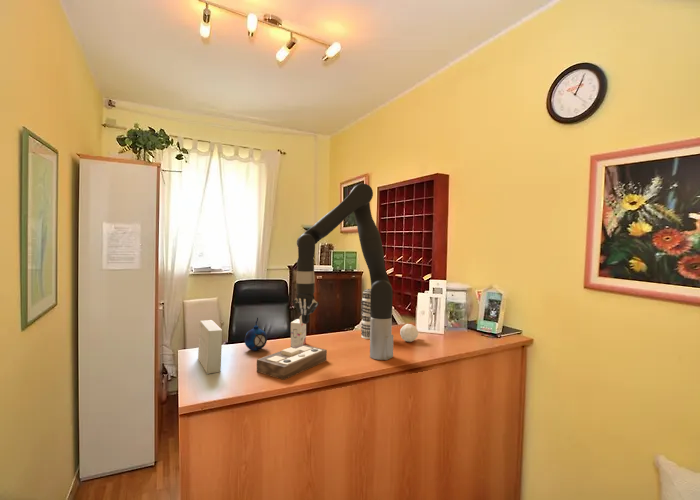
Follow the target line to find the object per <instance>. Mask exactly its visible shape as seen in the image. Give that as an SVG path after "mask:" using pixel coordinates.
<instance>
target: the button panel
mask: <svg viewBox="0 0 700 500" xmlns="http://www.w3.org/2000/svg"><path fill="white" fill-rule="evenodd" d="M302 346H306V347H310V348H312V349H313V348H316V349H320V350H323V351H321V352H318V353H316V354H313V355H311V356H308V357H306V358H303V359H301V360H299V361H296V362H294V363H291V364H289V365H284V364H280V363H278V362H277V363H275V362H271V361H268V360H266V359H268V358H271V357H274V356H280V357H283V358H286V359H287V358H290V357H289V356H285V355H282V350H280V351H277V352H275V353H272V354H268V355H266V356H263V357H261V358H258V359H256V372H257V373H261V374H264V375H267V376H270V377H273V378H277V379H280V380H283V381H285V380H286V379H289V378H291V377H293V376H295V375H298V374H300V373H302V372H305V371H306V370H309V369H311V368H313V367H315V366H318V365H320V364H323V363H324V362H326V361H328V360H327V357H328V355H327V354H328V353H327V350H328V349H325V348H320V347H317V346H310V345H307V344H304V345H303V344H300V345H297V346H294V347H291V346H290V347H291V348H295V349H296V348H299V347H302ZM300 353H303V351H300Z"/></svg>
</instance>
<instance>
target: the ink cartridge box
mask: <svg viewBox="0 0 700 500" xmlns="http://www.w3.org/2000/svg"><path fill="white" fill-rule="evenodd" d="M306 343H307V324H304V323H302V314H301V315H300V316H299V318H296V319H294V320H293V321H291V322H290V347H294V346H297V345H300V344H303V345H306Z"/></svg>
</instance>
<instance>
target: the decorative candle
mask: <svg viewBox="0 0 700 500" xmlns="http://www.w3.org/2000/svg"><path fill="white" fill-rule="evenodd" d="M370 299H371V288H365V289H364V290H363V291H362V299H361V300H360V301H361V302H360V304H361V316H362V320H361V325H360V326H361V329H360V330H361V333H360V334H361V338H362V339H365V340H370V317H371V313H370Z"/></svg>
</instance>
